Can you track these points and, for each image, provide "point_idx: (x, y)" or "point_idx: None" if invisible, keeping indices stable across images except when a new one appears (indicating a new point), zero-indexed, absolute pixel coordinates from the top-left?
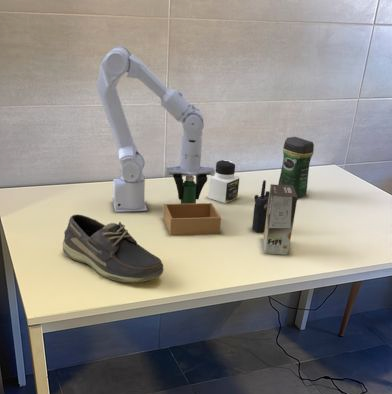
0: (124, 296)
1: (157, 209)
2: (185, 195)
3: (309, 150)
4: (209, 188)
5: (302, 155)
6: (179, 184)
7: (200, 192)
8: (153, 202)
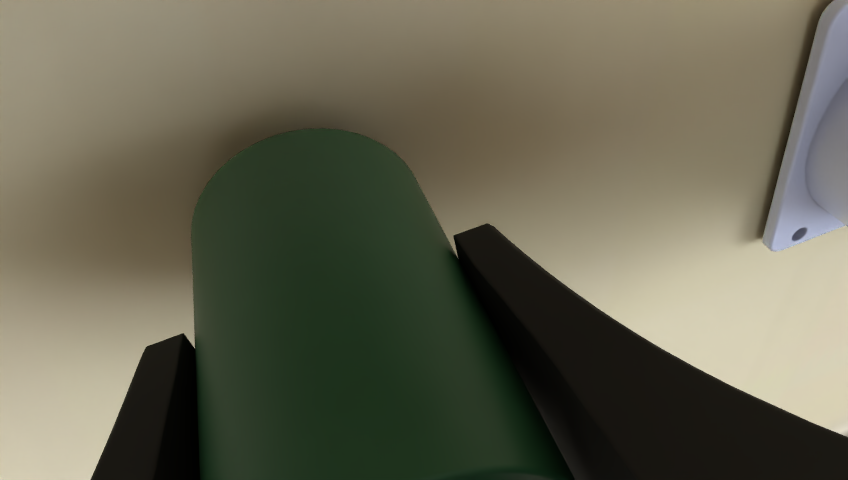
0: None
1: (677, 108)
2: (422, 287)
3: None
4: None
5: None
6: (737, 443)
7: (91, 478)
8: (670, 266)
